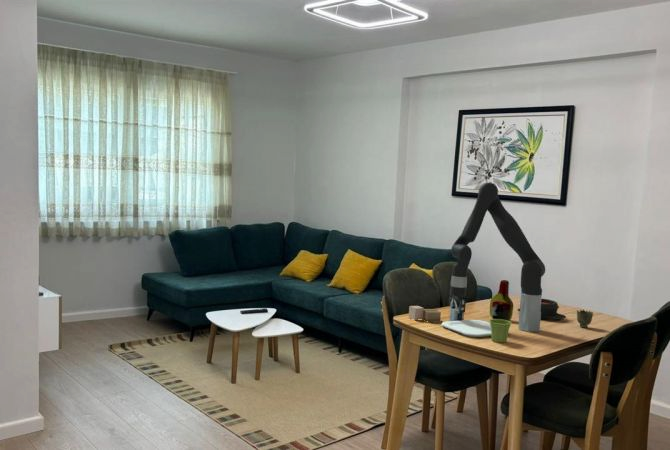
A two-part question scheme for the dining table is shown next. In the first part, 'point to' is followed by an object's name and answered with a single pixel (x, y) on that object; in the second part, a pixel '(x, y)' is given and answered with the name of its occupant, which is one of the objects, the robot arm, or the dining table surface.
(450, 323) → the plate
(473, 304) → the dining table surface
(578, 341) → the dining table surface
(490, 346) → the dining table surface
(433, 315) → the walnut block
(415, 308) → the pale pinkish block
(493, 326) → the plant pot
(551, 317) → the casserole
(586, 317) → the cup
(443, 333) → the dining table surface
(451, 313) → the grey cube
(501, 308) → the bottle
